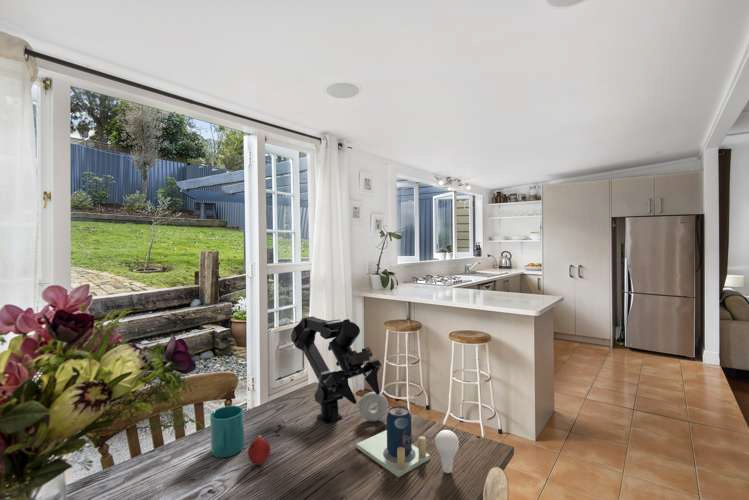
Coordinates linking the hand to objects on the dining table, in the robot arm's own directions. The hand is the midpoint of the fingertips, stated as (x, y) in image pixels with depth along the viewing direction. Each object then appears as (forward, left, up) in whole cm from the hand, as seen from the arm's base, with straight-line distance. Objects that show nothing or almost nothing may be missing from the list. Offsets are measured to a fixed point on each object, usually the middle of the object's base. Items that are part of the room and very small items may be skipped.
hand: (367, 398), depth 111 cm
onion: (-11, -29, -14) cm, 34 cm away
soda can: (+11, +2, -12) cm, 17 cm away
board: (+9, +2, -14) cm, 16 cm away
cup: (-23, -34, -14) cm, 44 cm away
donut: (-9, +10, -14) cm, 19 cm away
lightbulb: (+25, +7, -14) cm, 29 cm away
